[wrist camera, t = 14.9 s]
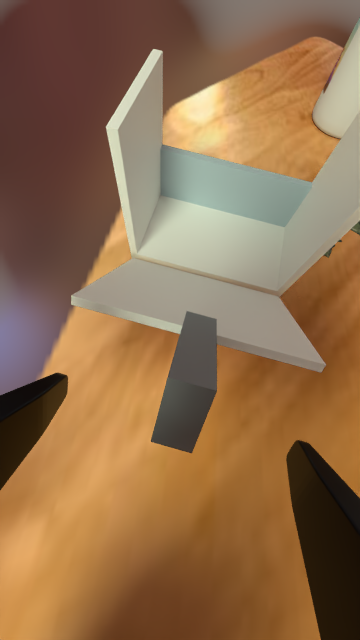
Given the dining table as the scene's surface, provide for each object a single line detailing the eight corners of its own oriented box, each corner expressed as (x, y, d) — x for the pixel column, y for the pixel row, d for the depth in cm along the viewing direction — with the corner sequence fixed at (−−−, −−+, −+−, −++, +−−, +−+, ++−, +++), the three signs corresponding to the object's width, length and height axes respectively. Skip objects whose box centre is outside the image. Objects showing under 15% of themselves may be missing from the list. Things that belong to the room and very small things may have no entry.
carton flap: (268, 317, 22) (355, 499, 8) (130, 280, 22) (-7, 396, 8) (282, 287, 20) (413, 445, 7) (134, 248, 21) (-20, 325, 7)
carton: (276, 300, 22) (384, 197, 11) (132, 261, 22) (106, 126, 12) (283, 234, 25) (376, 103, 14) (156, 201, 25) (153, 48, 15)
